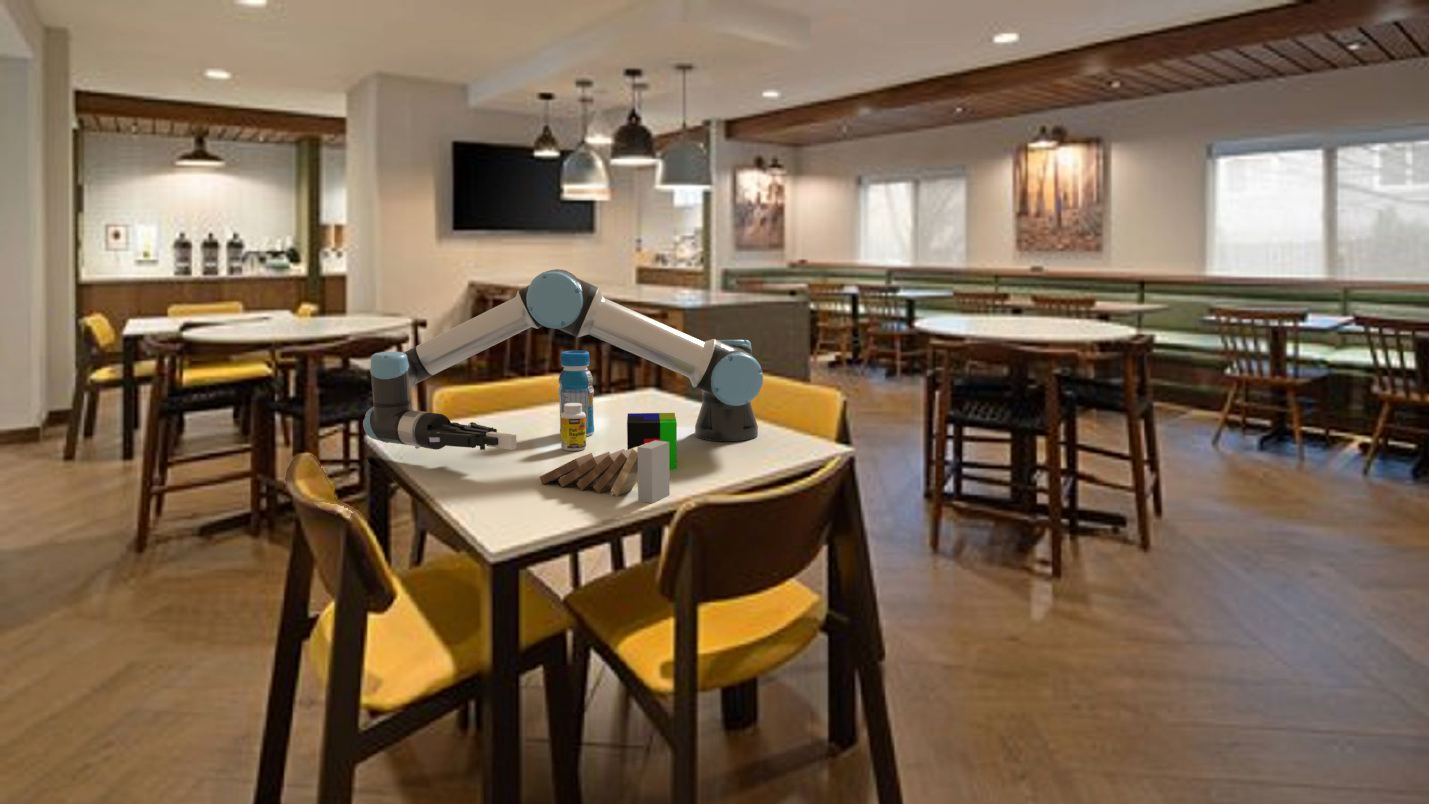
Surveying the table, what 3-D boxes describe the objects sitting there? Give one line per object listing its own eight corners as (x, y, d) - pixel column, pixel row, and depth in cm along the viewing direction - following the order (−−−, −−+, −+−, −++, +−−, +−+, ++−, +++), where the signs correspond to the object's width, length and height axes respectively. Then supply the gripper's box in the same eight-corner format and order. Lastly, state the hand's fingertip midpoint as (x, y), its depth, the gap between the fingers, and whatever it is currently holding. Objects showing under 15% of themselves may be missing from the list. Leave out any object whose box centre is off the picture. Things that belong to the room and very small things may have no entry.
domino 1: (539, 477, 169) (575, 458, 164) (555, 471, 173) (591, 452, 168) (542, 484, 169) (579, 466, 164) (558, 478, 173) (594, 460, 168)
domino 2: (558, 480, 167) (593, 457, 162) (574, 474, 171) (608, 451, 167) (562, 487, 167) (597, 464, 162) (577, 481, 171) (612, 458, 166)
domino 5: (610, 491, 162) (632, 448, 158) (625, 484, 166) (647, 443, 162) (616, 496, 161) (639, 453, 157) (631, 489, 165) (653, 448, 162)
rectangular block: (638, 501, 158) (637, 446, 156) (655, 492, 164) (655, 440, 162) (652, 503, 157) (651, 448, 155) (669, 494, 162) (669, 442, 160)
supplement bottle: (567, 453, 194) (566, 407, 192) (557, 448, 198) (556, 403, 196) (590, 449, 197) (589, 404, 195) (580, 445, 201) (579, 401, 199)
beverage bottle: (570, 439, 206) (568, 355, 203) (553, 433, 213) (550, 351, 209) (601, 434, 212) (599, 352, 208) (583, 429, 218) (581, 349, 214)
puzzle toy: (628, 459, 189) (627, 413, 187) (674, 458, 190) (674, 412, 188) (627, 471, 179) (627, 423, 177) (676, 470, 180) (676, 422, 178)
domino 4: (592, 487, 163) (621, 452, 159) (608, 480, 168) (636, 446, 163) (598, 493, 163) (627, 458, 159) (613, 486, 167) (642, 452, 163)
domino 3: (576, 483, 165) (608, 454, 160) (592, 477, 169) (624, 448, 165) (581, 490, 165) (613, 461, 160) (596, 484, 169) (629, 455, 164)
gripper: (449, 441, 191) (535, 453, 180) (403, 453, 180) (492, 468, 169) (448, 407, 190) (534, 418, 179) (401, 418, 178) (490, 430, 167)
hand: (513, 442), depth 174 cm, fingers closed
